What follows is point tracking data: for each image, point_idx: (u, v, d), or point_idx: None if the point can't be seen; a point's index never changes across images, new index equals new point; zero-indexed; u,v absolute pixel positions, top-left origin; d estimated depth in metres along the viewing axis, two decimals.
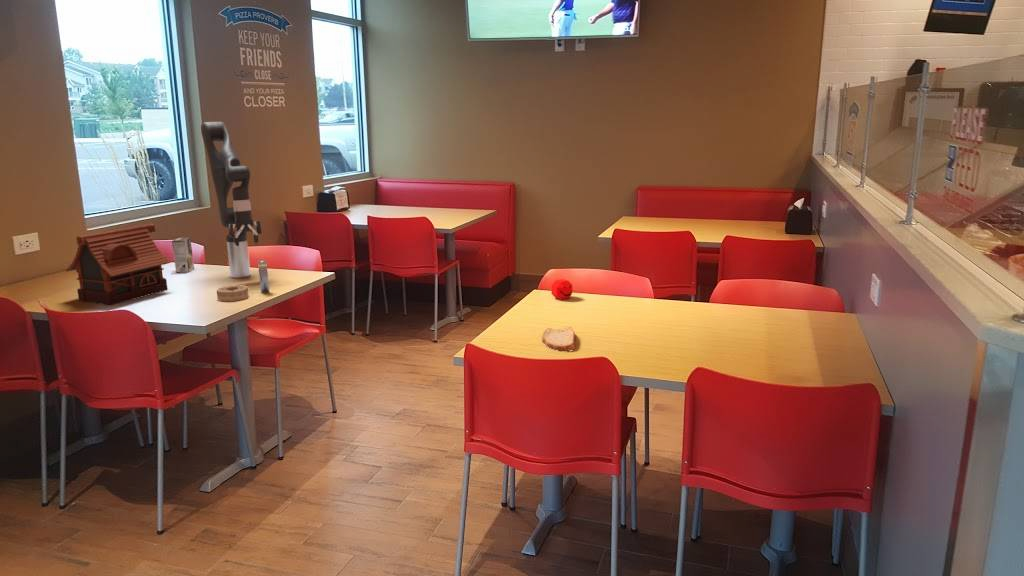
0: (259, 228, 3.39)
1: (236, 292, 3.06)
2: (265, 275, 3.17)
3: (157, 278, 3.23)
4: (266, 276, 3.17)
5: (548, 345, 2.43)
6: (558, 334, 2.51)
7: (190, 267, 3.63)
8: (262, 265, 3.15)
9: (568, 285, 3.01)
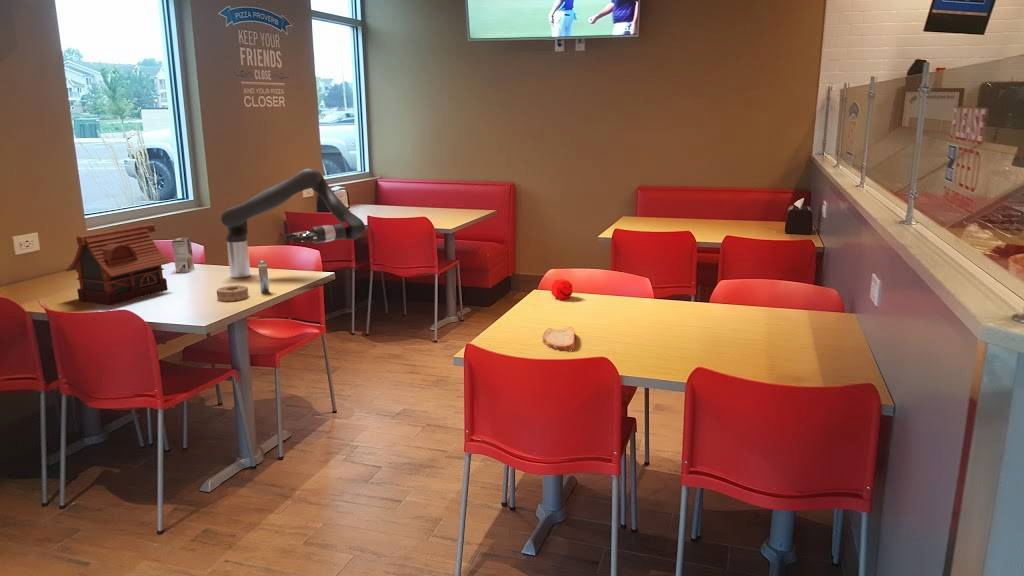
0: None
1: (236, 292, 3.06)
2: (265, 275, 3.17)
3: (157, 278, 3.23)
4: (266, 276, 3.17)
5: (549, 345, 2.43)
6: (559, 334, 2.51)
7: (190, 267, 3.63)
8: (262, 265, 3.15)
9: (568, 285, 3.01)
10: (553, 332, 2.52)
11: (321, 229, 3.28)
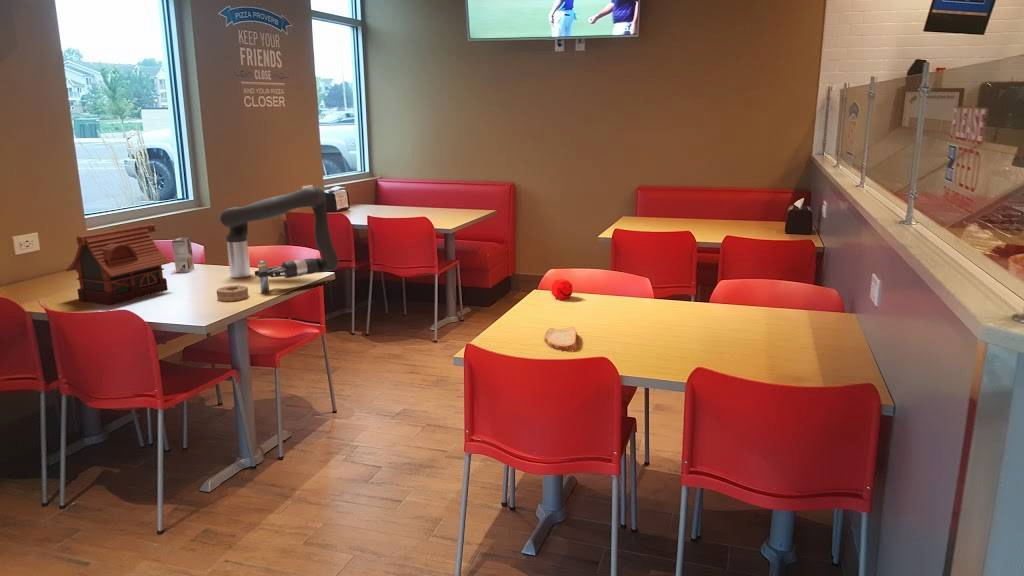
0: None
1: (236, 292, 3.06)
2: None
3: (157, 278, 3.23)
4: None
5: (550, 345, 2.43)
6: (560, 334, 2.51)
7: (190, 267, 3.63)
8: (262, 265, 3.15)
9: (568, 285, 3.01)
10: (555, 332, 2.53)
11: (292, 264, 3.23)
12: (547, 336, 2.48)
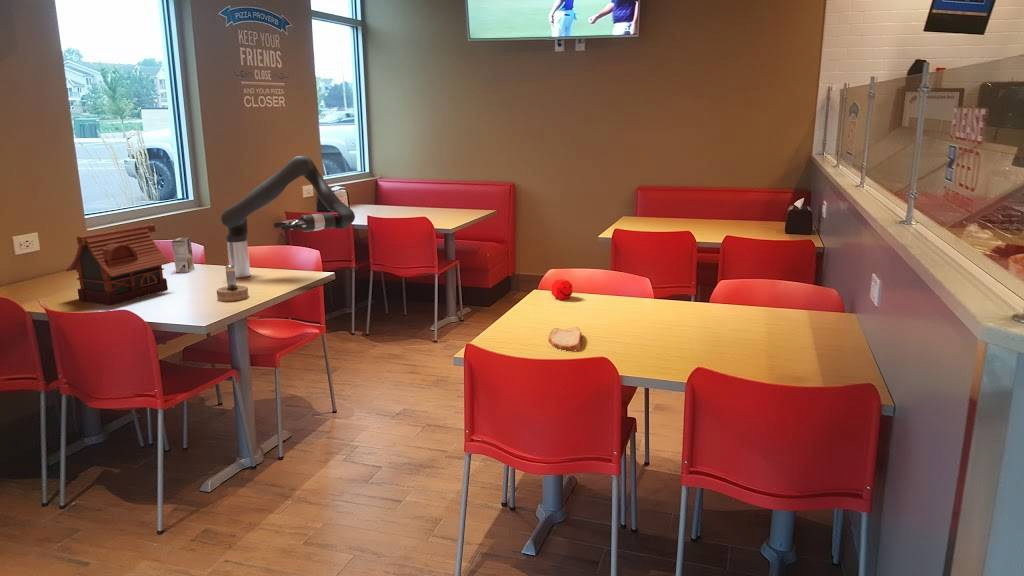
0: None
1: (236, 292, 3.06)
2: (233, 280, 3.08)
3: (157, 278, 3.23)
4: (234, 281, 3.09)
5: (554, 345, 2.43)
6: (565, 334, 2.51)
7: (190, 267, 3.63)
8: (230, 270, 3.07)
9: (568, 285, 3.01)
10: (559, 332, 2.53)
11: (310, 217, 3.26)
12: (551, 336, 2.48)
